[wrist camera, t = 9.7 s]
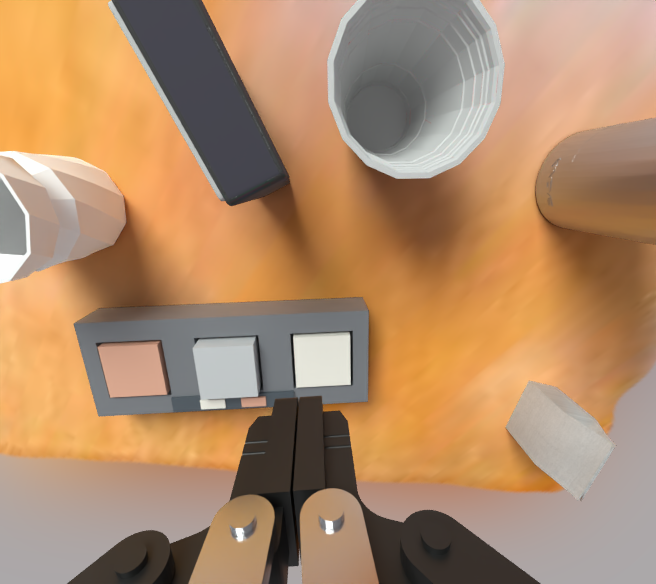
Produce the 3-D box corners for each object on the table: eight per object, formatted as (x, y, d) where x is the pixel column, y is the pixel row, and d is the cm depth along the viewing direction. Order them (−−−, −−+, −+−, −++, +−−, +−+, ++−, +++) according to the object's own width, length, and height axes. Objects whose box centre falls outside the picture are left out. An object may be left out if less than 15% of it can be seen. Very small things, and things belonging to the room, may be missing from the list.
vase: (11, 208, 32) (-155, 222, 20) (64, 135, 30) (-84, 105, 19) (94, 271, 34) (-14, 316, 23) (148, 206, 32) (60, 218, 21)
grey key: (257, 331, 34) (252, 345, 31) (262, 379, 36) (258, 396, 33) (202, 334, 34) (192, 348, 31) (209, 382, 36) (200, 399, 33)
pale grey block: (505, 427, 42) (562, 497, 33) (528, 380, 41) (596, 440, 31) (531, 432, 43) (595, 504, 33) (556, 387, 41) (631, 448, 32)
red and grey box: (192, 82, 30) (84, -12, 15) (236, 57, 29) (166, -63, 15) (256, 200, 33) (215, 214, 19) (296, 179, 32) (286, 177, 18)
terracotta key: (169, 331, 35) (157, 344, 32) (178, 377, 36) (166, 394, 34) (114, 333, 35) (97, 347, 32) (125, 380, 36) (110, 397, 33)
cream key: (346, 323, 36) (350, 335, 33) (347, 369, 37) (350, 384, 34) (294, 325, 35) (293, 337, 33) (297, 371, 37) (296, 387, 34)
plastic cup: (444, 167, 33) (517, 158, 21) (333, 192, 33) (346, 197, 22) (430, 35, 29) (507, -59, 18) (307, 64, 30) (306, -11, 18)
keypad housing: (362, 297, 36) (369, 312, 32) (362, 380, 39) (368, 404, 35) (99, 308, 35) (69, 325, 31) (119, 393, 38) (95, 419, 34)
